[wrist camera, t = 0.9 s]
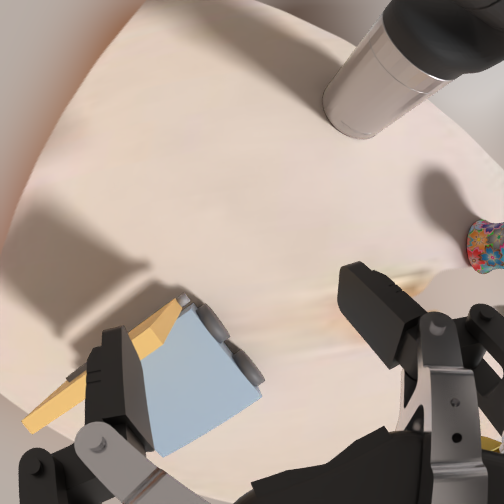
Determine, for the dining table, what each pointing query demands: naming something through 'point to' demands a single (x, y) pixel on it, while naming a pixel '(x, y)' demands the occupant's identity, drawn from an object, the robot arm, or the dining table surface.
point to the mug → (486, 246)
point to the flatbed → (196, 380)
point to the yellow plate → (73, 390)
